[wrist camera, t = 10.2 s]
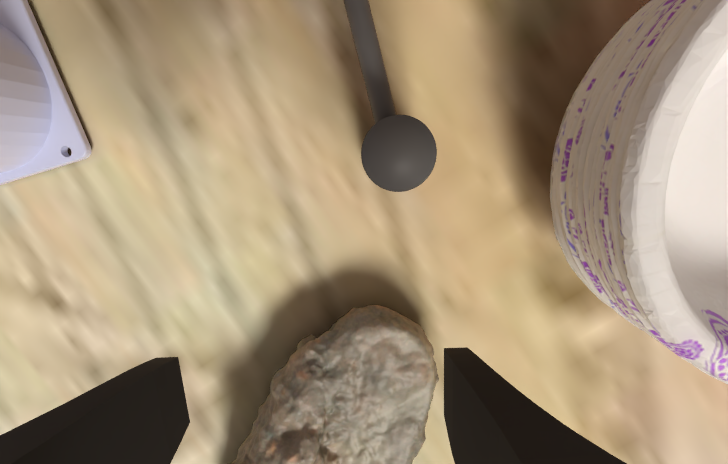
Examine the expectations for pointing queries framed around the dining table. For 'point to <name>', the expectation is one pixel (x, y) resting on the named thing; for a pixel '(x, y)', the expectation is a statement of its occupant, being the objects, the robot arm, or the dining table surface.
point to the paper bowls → (653, 178)
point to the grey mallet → (388, 117)
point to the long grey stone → (348, 395)
